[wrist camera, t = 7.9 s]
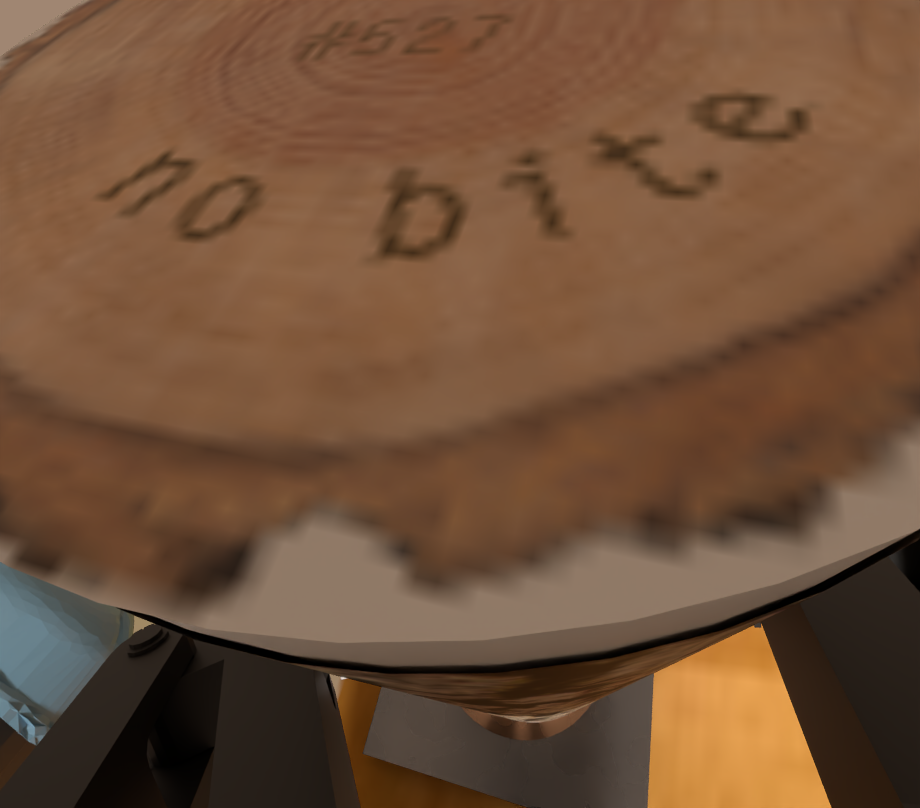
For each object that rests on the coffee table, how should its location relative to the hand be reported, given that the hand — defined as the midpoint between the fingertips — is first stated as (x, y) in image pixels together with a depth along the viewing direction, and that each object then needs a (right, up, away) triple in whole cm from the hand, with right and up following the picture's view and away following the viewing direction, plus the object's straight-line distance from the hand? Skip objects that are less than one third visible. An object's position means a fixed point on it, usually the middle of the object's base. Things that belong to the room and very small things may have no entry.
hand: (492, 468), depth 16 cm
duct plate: (+2, -12, +13) cm, 18 cm away
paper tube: (+2, -9, +8) cm, 12 cm away
